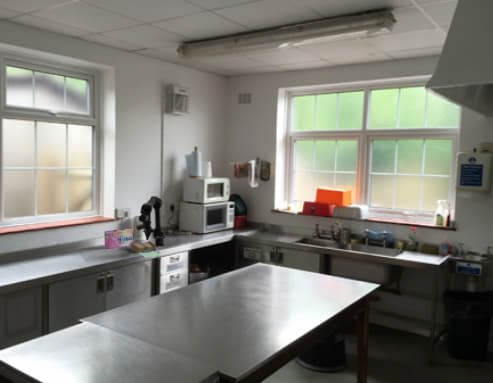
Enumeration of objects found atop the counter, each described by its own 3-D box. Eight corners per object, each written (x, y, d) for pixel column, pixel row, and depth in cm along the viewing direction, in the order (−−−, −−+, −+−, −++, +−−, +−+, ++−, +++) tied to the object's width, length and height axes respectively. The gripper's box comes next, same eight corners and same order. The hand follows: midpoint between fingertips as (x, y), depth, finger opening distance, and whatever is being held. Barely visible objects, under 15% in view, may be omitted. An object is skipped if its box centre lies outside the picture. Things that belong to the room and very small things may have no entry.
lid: (154, 252, 352) (153, 248, 352) (161, 256, 337) (161, 253, 337) (138, 253, 346) (138, 250, 346) (145, 258, 330) (145, 255, 330)
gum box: (129, 243, 384) (129, 227, 383) (134, 244, 378) (134, 228, 377) (104, 247, 366) (104, 231, 365) (109, 249, 361) (109, 232, 360)
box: (149, 246, 369) (149, 240, 369) (156, 251, 353) (156, 244, 353) (130, 248, 362) (130, 242, 361) (136, 253, 346) (135, 246, 345)
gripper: (133, 219, 348) (133, 239, 349) (139, 222, 332) (140, 243, 333) (147, 218, 354) (147, 237, 355) (154, 221, 337) (154, 241, 338)
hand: (147, 240), depth 345 cm, fingers closed
